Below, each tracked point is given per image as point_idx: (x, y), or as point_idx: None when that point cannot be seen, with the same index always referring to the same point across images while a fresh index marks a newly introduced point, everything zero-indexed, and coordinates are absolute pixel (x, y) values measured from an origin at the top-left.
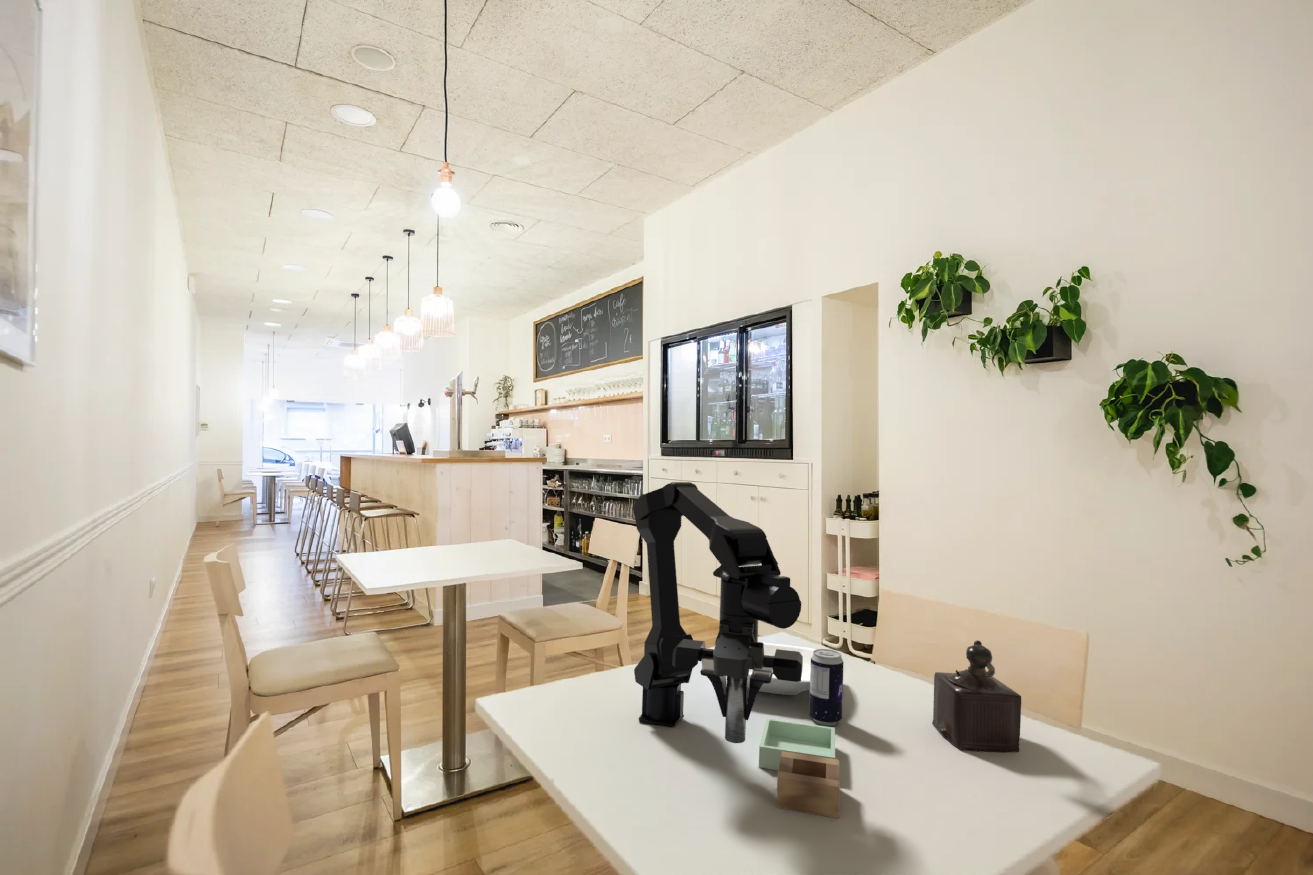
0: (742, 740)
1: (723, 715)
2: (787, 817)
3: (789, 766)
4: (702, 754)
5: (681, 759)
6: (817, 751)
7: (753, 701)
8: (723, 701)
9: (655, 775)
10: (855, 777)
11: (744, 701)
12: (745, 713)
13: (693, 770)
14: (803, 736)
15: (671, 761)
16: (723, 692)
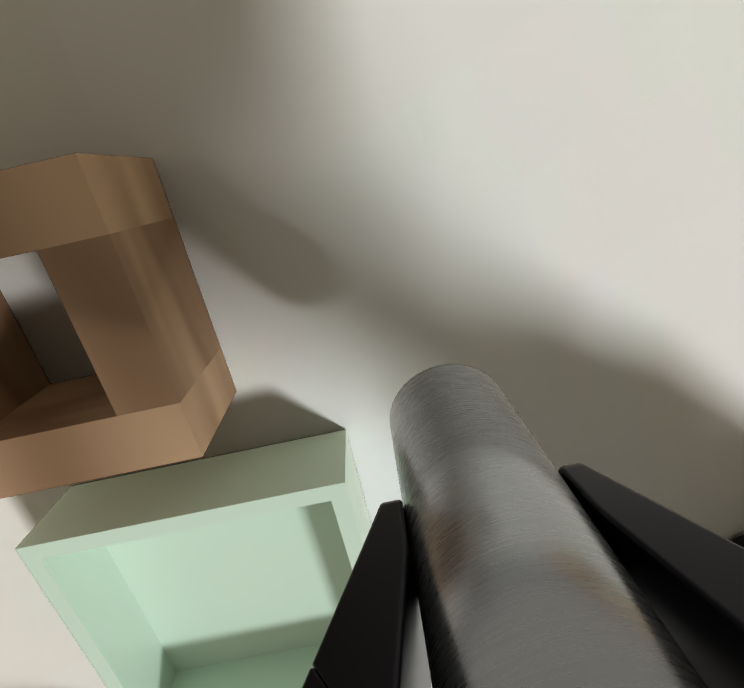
0: (396, 401)
1: (577, 467)
2: (74, 98)
3: (87, 318)
4: (576, 410)
5: (648, 331)
6: (192, 612)
7: (324, 650)
8: (656, 547)
9: (731, 136)
10: (19, 532)
11: (435, 625)
12: (405, 531)
13: (578, 271)
14: (264, 668)
15: (685, 294)
16: (742, 644)
